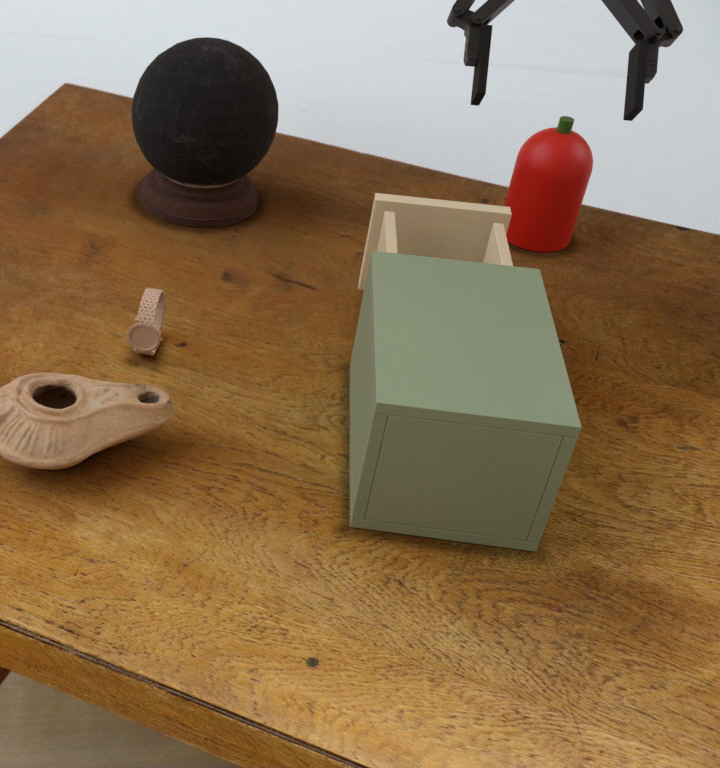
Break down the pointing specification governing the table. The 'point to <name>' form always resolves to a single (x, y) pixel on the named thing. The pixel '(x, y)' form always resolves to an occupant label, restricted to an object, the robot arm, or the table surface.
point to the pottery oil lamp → (74, 417)
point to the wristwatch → (148, 322)
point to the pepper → (548, 188)
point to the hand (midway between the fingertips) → (554, 107)
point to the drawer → (437, 230)
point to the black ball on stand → (203, 131)
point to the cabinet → (457, 402)
